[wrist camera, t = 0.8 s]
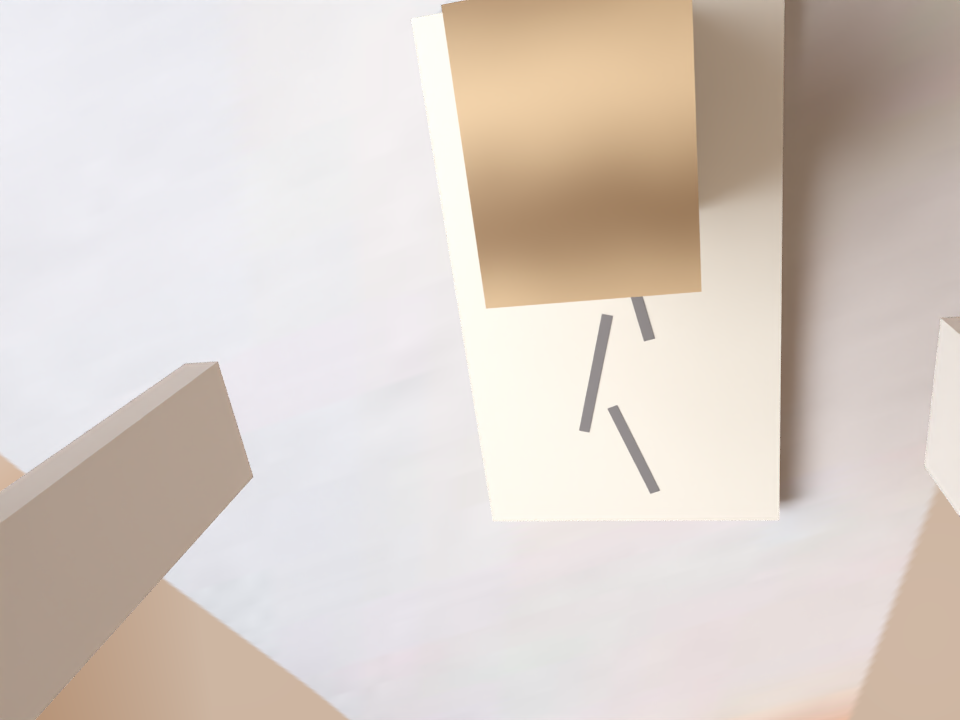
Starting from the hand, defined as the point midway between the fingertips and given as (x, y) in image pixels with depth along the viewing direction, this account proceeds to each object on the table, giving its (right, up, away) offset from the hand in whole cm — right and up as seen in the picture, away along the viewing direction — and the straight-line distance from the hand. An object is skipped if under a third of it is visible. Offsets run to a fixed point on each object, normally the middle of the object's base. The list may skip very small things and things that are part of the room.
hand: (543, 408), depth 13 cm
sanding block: (+4, +10, +15) cm, 19 cm away
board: (+5, +4, +19) cm, 20 cm away
